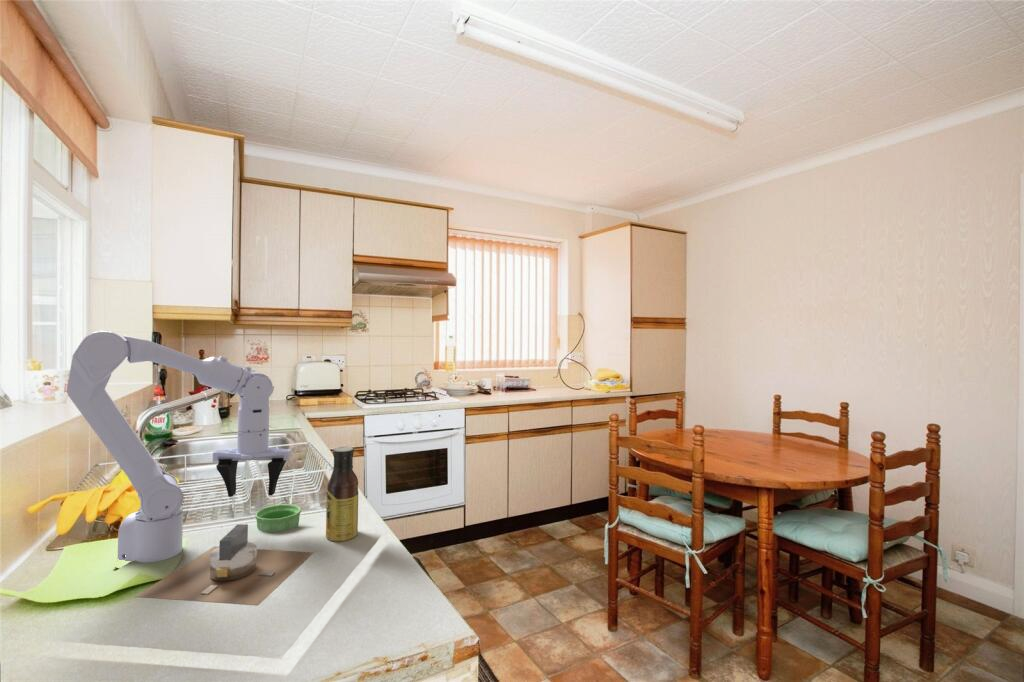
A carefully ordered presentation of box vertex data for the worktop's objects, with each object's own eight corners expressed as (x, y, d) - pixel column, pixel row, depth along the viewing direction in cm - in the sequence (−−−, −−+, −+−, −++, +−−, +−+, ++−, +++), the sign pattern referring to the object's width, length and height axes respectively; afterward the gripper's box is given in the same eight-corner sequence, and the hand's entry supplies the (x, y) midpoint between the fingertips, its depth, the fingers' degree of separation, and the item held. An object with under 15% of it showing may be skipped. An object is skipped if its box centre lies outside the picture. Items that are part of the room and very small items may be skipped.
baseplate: (135, 605, 75) (135, 595, 75) (214, 553, 93) (214, 545, 93) (257, 614, 74) (257, 603, 74) (313, 560, 92) (313, 551, 92)
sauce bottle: (330, 536, 103) (333, 444, 102) (360, 536, 103) (362, 444, 103) (321, 550, 96) (323, 451, 96) (353, 549, 97) (355, 451, 96)
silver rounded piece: (221, 561, 86) (221, 524, 86) (262, 560, 87) (263, 523, 87) (198, 584, 79) (199, 544, 78) (244, 582, 80) (245, 542, 79)
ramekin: (304, 534, 104) (304, 514, 103) (257, 543, 99) (257, 522, 98) (296, 520, 111) (297, 501, 111) (252, 528, 106) (253, 508, 106)
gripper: (206, 434, 94) (205, 502, 95) (285, 433, 97) (284, 499, 97) (221, 427, 101) (219, 491, 101) (294, 426, 104) (292, 488, 104)
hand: (252, 494), depth 100 cm, fingers open, 7 cm apart
